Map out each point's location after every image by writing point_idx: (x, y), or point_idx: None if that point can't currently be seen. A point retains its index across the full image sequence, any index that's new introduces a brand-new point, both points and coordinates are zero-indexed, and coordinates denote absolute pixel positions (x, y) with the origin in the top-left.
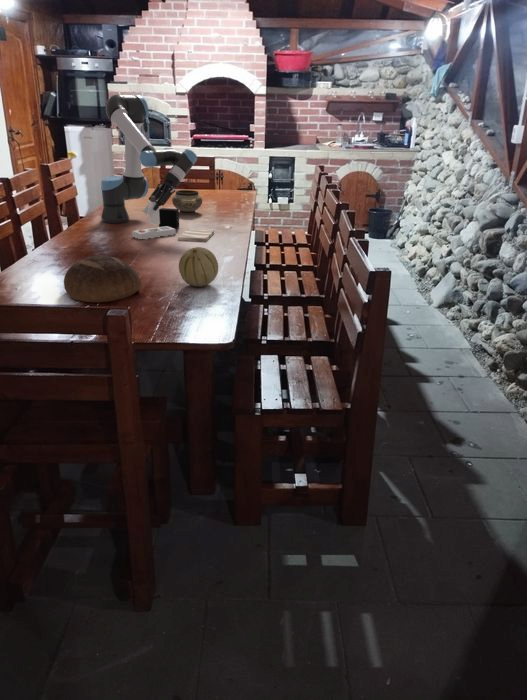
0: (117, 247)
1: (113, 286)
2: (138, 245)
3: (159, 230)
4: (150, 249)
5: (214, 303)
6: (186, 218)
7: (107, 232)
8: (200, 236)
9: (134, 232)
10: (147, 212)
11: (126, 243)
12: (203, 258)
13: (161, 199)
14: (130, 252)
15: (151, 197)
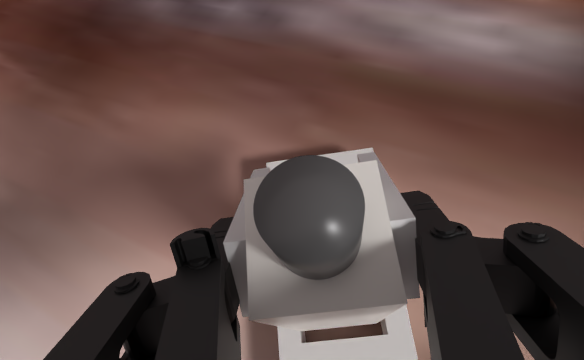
0: (202, 50)
1: None
2: (177, 133)
3: (334, 340)
4: (76, 156)
5: None
6: None
7: (546, 77)
8: None
9: (345, 153)
10: (269, 169)
11: (246, 97)
12: None
13: (102, 322)
14: (96, 72)
15: (283, 169)
